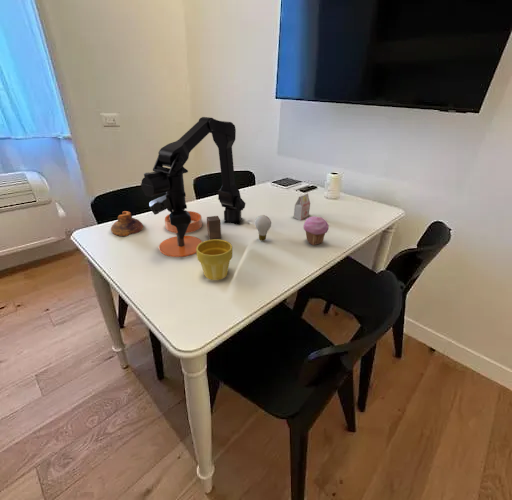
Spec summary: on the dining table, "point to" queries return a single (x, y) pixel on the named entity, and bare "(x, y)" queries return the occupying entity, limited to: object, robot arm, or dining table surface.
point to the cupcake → (315, 229)
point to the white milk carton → (302, 207)
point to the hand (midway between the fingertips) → (180, 232)
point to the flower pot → (214, 258)
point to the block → (214, 227)
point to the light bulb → (262, 226)
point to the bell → (126, 225)
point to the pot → (192, 226)
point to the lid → (179, 246)
